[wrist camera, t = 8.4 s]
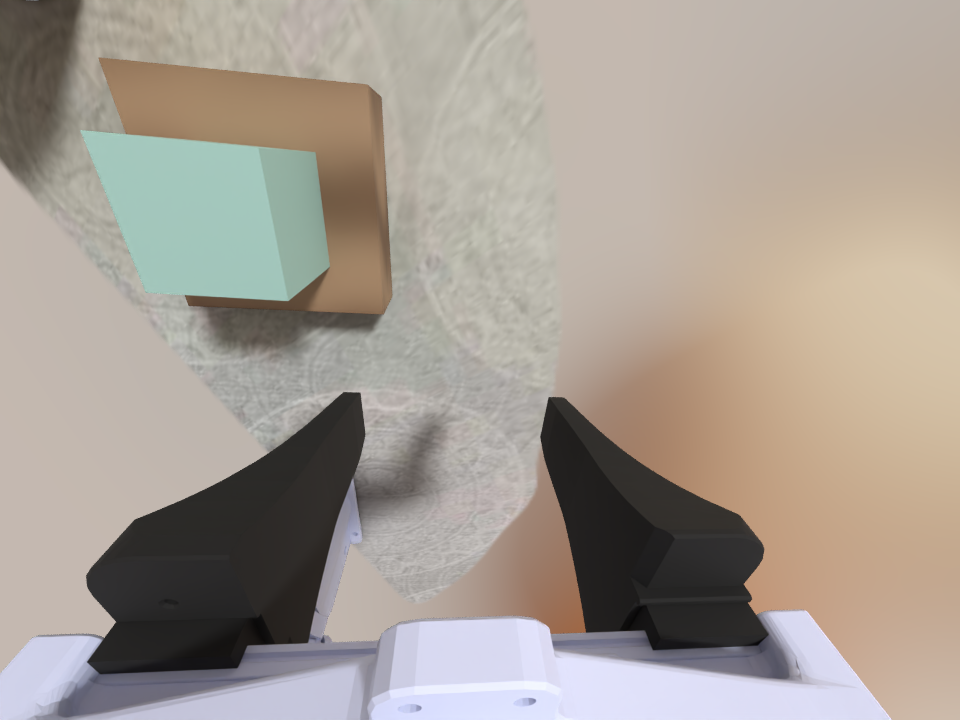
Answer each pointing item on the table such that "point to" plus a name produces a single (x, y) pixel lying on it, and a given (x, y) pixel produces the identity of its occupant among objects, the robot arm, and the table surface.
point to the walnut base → (284, 125)
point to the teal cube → (214, 214)
